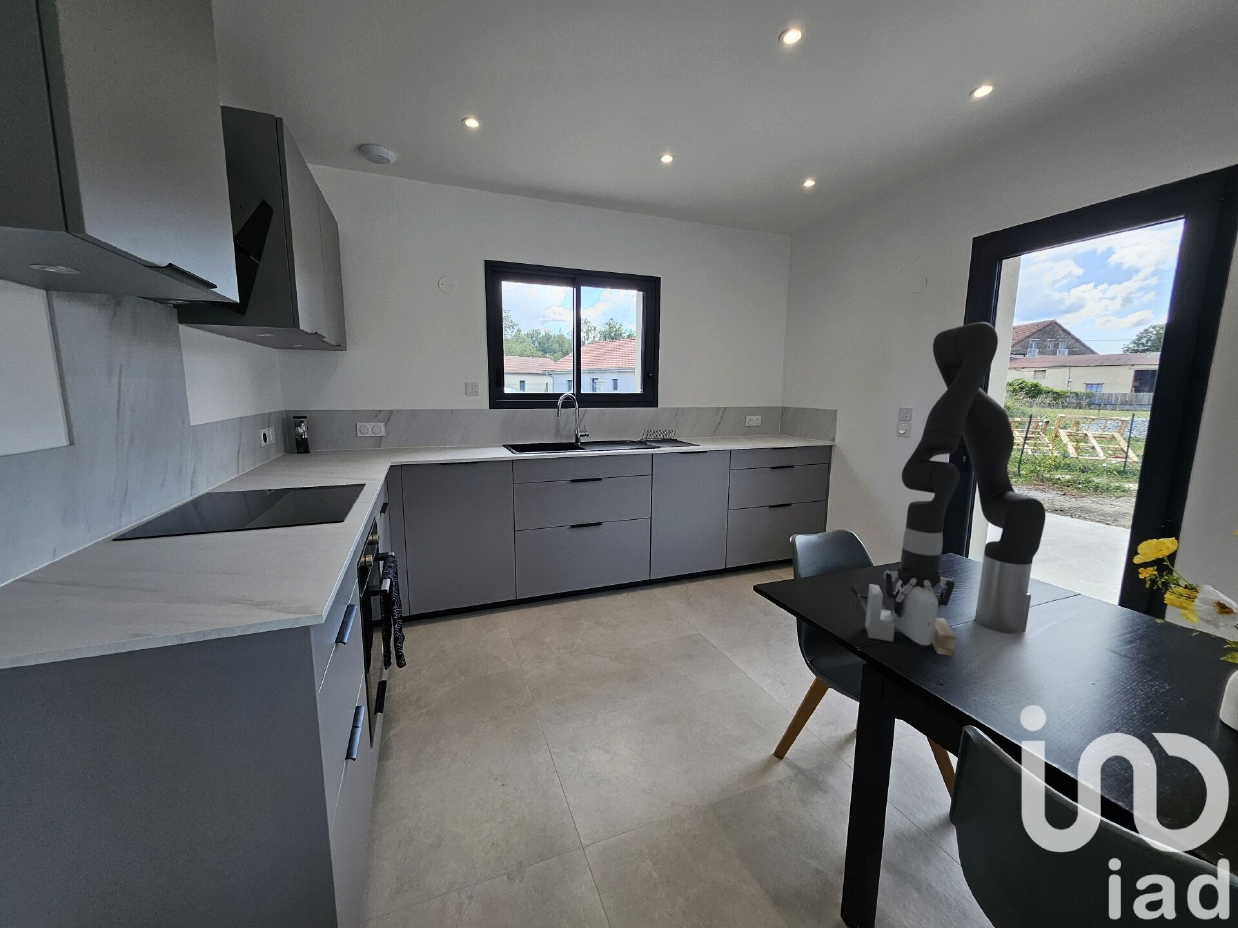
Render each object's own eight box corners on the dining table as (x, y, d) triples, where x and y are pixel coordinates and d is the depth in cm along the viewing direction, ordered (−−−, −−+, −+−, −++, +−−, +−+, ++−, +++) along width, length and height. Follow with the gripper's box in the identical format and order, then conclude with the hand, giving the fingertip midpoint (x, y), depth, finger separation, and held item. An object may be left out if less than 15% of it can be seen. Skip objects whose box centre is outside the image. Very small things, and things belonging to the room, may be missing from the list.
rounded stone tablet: (936, 645, 107) (943, 593, 105) (918, 646, 107) (924, 593, 105) (904, 623, 118) (910, 574, 116) (888, 623, 117) (893, 575, 115)
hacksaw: (851, 588, 142) (852, 583, 142) (890, 592, 139) (891, 587, 139) (870, 627, 119) (870, 621, 119) (917, 633, 116) (918, 627, 116)
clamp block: (941, 636, 114) (943, 618, 113) (953, 655, 106) (955, 636, 105) (926, 633, 115) (929, 616, 114) (937, 653, 107) (939, 634, 106)
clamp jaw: (888, 629, 116) (892, 587, 115) (892, 641, 111) (897, 597, 109) (865, 625, 118) (869, 583, 116) (868, 637, 113) (873, 593, 111)
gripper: (953, 546, 110) (945, 615, 113) (882, 539, 115) (876, 605, 117) (964, 557, 103) (955, 631, 106) (888, 549, 108) (881, 619, 110)
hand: (913, 617), depth 112 cm, fingers closed on rounded stone tablet, 5 cm apart
